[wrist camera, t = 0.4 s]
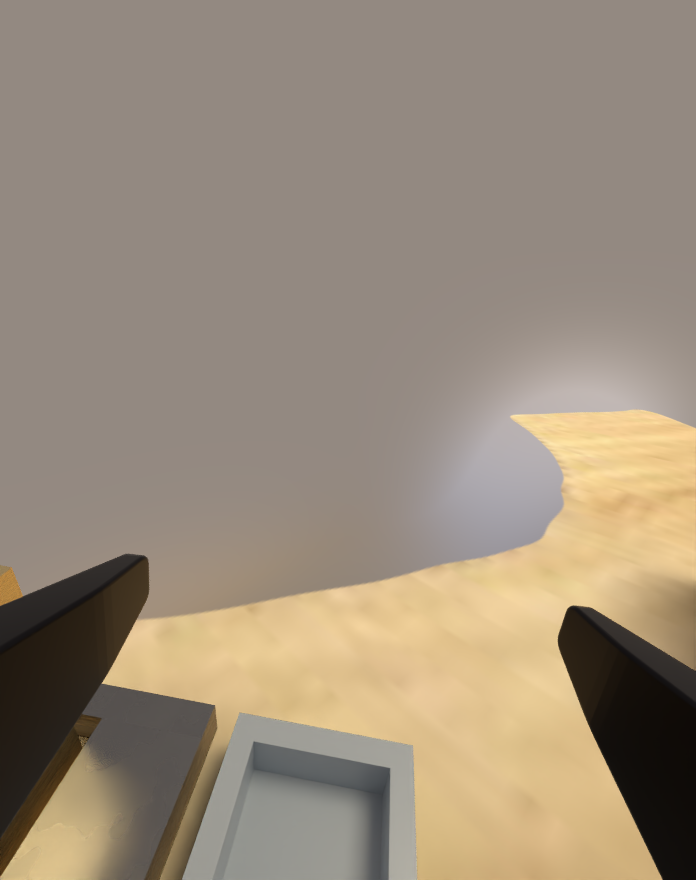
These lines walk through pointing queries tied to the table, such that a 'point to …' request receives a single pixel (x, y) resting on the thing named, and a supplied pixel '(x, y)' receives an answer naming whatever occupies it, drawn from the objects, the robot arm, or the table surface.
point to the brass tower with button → (5, 589)
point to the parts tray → (308, 807)
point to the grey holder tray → (120, 790)
